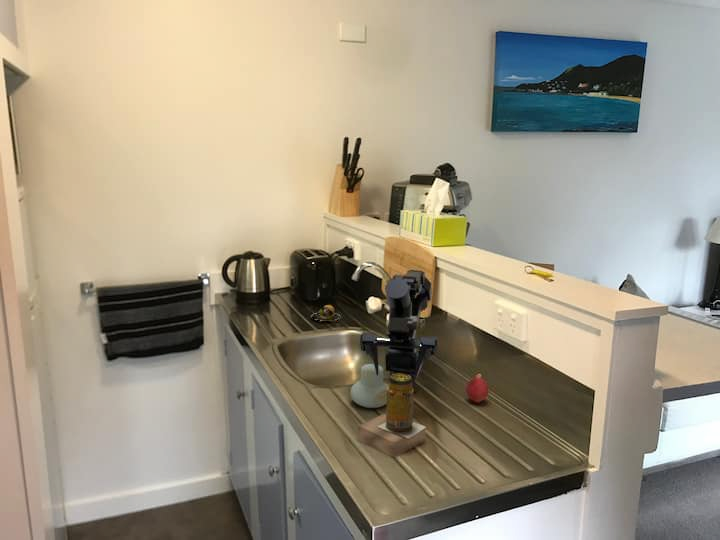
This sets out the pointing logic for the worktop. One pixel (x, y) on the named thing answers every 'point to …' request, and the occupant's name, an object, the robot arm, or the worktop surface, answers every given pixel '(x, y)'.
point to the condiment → (400, 407)
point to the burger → (327, 313)
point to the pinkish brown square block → (387, 437)
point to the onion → (477, 389)
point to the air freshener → (370, 388)
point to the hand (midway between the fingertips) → (396, 376)
